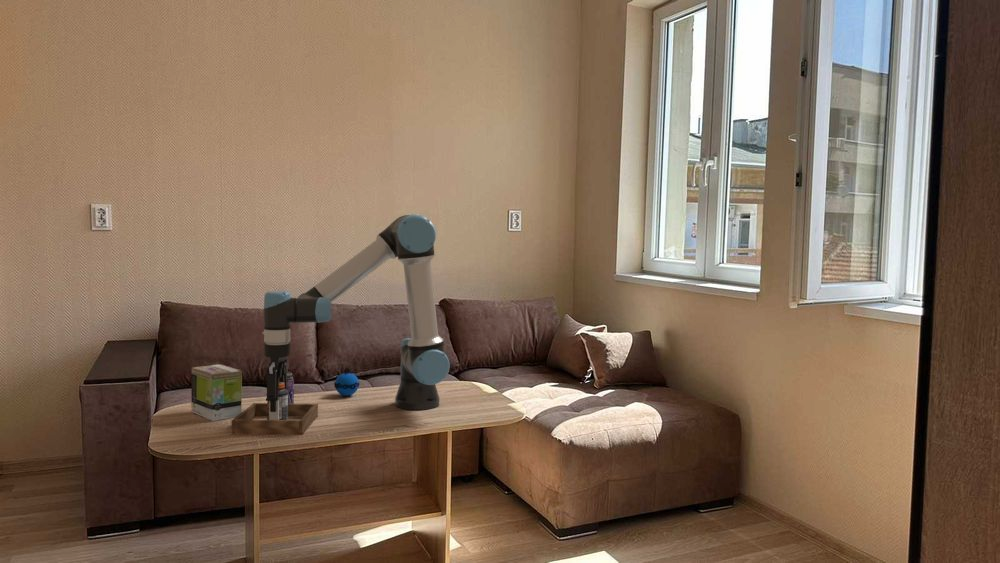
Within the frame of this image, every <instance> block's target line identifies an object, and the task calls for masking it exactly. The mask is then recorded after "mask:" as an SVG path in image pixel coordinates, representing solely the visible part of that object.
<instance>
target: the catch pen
mask: <svg viewBox="0 0 1000 563" xmlns="http://www.w3.org/2000/svg"><path fill="white" fill-rule="evenodd" d="M256 417H262V418H263V417H265V418H267V403H266V402H262V403H261V402H253V403H252V404H251V405H250V406H248V407H247V408H245V410H243V411H241V414H239V415H238V416H237V417H233V419H232V420H231V435H271V436H272V435H275V436H276V435H277V436H279V435H283V436H284V435H286V436H287V435H288V436H292V435H293V436H303V434H304V433H305V432H306V431H307V430H308V429H309V428H310V427H311V425H313V423H314V422H315V420H316V419H317V418H318V417H319V404H318V403H294V404H288V418H300V419H299V420H297V419H292V420H291V419H287V420H267V419H255V418H256Z"/></svg>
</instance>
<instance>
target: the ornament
mask: <svg viewBox="0 0 1000 563" xmlns="http://www.w3.org/2000/svg"><path fill="white" fill-rule="evenodd" d="M350 371H351V370H350V368H348V367H346V368H345V369H344V372H342V373H340V374H339V375H338V376H337V378H336V379H335V381H334V384H333V385H334V388H335V390H336V391H337V392H338V394H339V395H340V396H344V397H349V396H350V397H351V396H352V395H354V394H355V393H357V391H358V389H359V386H360V381H359V378H358V377H357V375H356V374H354V373H351V372H350Z"/></svg>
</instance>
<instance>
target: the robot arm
mask: <svg viewBox="0 0 1000 563" xmlns="http://www.w3.org/2000/svg"><path fill="white" fill-rule="evenodd" d="M436 239H437V232H436V228H435V226H434V223H433V222H432V221H431V220H430V219H429V218H427V217H426V216H424V215H420V214H418V213H417V214H414V213H413V214H405V215H401V216H399V217H397V218H396V219H395V220H394V221H392V222H391V223H390V224H389V225H388V226H387V227H385V229H383V230H382V231H380V232H379V233H378V234H377V235H376V238H375V240H374V241H373V242H371V243H369V245H368V246H366V247H364V248H363V249H362V250H361V251H360V252H358V253H357V254H355V255H354V256H353V257H352V258H350V259H349V260H347V261H346V262H345V263H344V264H342V265H340V266H339V267H338V268H337V269H335V270H334V271H333V272H331V273H330V274H328V275H327V276H326V277H325V278H323V279H322V280H321V281H319V282H318V283H316V284H315V285H314V286H313V287H312V288H309V290H307V291H306V292H304V293H303V292H302V293H301V294H299V296H297V297H292V296H291V292H290V291H288V290H287V291H286V290H285V291H284V290H271V291H267V292H265V294H264V295H263V296H264V298H263V331H262V332H261V333H262V335H264V336H263V337H264V338H263V341H264V344H263V356H264V357H266V358H269V359H270V360H269V363H268V366H266V397H265V401H266V402H267V401H269V420H279V400H278V391H279V382H284V386H285V387H284V389H286V390H287V372H288V359H287V358H286V357H289V356H291V343H290V342H291V324H292V323H293V324H298V323H301V324H302V323H304V324H305V323H318V324H321V323H328V322H330V321H331V320H332V310H333V309H332V303H333V302H334V301H335V300H338V298H340V297H341V296H343V294H344V293H346V292H348V291H349V290H350V289H351V288H353V287H354V286H355V285H356V284H358V283H359V282H361V281H362V280H364V279H365V278H366V277H368V275H370V274H371V273H373V272H374V271H375V270H376V269H378V268H379V267H381V266H382V265H383V264H385V263H386V262H387V261H388V260H390V259H396V258H397V260H398V261H399V262H400V263H401V264H402V265H403V272H404V282H405V290H406V300H407V308H408V316H409V317H408V318H409V326H410V335H411V337H408V338H406V337H405V338H403V339H402V340H401V343H400V344H401V345H400V347H399V348H400V383H399V385H398V389H397V392H396V394H395V397H394V405H395V407H397V408H400V409H404V410H414V411H415V410H429V409H430V410H431V409H434V408H437V407H439V406H440V396H439V392H438V388H437V384H440V383H441V382H443V380H445V379H446V378H447V376H448V374H449V371H450V368H451V366H450V360H449V357H448V356H447V354H446V351H445V341H444V338H442V337H441V336H440V335H439V330H438V328H439V327H438V322H437V321H438V320H437V310H436V301H435V294H434V293H435V292H434V281H433V272H432V265H431V262H432V260H433V258H434V257H435V256H436V255H435V246H434V244H435V242H436Z"/></svg>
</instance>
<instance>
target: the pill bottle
mask: <svg viewBox="0 0 1000 563" xmlns="http://www.w3.org/2000/svg"><path fill="white" fill-rule="evenodd" d="M284 387H285V386H284V382H279V391H278V400H279V420H289V417H288V391H287V390H286V389H284ZM266 402H267V417H266V420H269V401H266Z"/></svg>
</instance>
